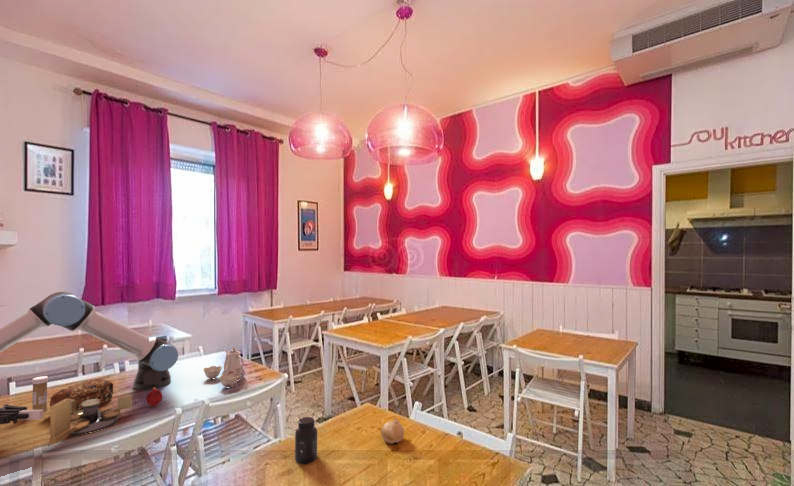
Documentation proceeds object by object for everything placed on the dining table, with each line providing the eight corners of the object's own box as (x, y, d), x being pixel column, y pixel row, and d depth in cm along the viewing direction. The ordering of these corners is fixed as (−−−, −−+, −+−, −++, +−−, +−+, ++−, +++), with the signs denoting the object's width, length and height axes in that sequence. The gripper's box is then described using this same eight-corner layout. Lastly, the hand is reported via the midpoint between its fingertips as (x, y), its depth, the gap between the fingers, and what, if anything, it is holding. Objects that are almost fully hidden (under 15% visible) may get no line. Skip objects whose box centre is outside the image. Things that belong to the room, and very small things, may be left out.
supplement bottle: (290, 461, 118) (290, 422, 118) (304, 450, 124) (304, 413, 124) (308, 466, 115) (308, 427, 115) (321, 455, 121) (321, 417, 121)
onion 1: (165, 405, 158) (165, 386, 158) (151, 410, 153) (151, 391, 153) (156, 403, 161) (156, 384, 161) (142, 408, 156) (143, 388, 156)
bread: (69, 418, 146) (70, 392, 146) (47, 416, 148) (48, 390, 148) (114, 399, 164) (115, 376, 165) (94, 397, 167) (94, 374, 167)
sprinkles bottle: (46, 411, 152) (46, 378, 152) (30, 414, 149) (30, 380, 149) (48, 407, 155) (48, 374, 155) (33, 410, 153) (33, 377, 153)
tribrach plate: (132, 407, 156) (133, 387, 156) (130, 425, 141) (130, 402, 141) (63, 420, 144) (63, 398, 144) (51, 441, 129) (52, 416, 129)
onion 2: (401, 448, 126) (402, 426, 126) (378, 445, 127) (378, 424, 128) (405, 436, 134) (405, 416, 134) (383, 434, 135) (383, 414, 135)
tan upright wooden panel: (75, 423, 138) (76, 390, 138) (93, 422, 139) (93, 389, 139) (42, 444, 124) (43, 406, 124) (62, 443, 124) (62, 406, 124)
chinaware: (197, 383, 189) (194, 350, 188) (228, 370, 203) (225, 340, 201) (228, 396, 173) (225, 360, 172) (260, 381, 186) (257, 349, 185)
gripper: (-16, 419, 133) (56, 416, 135) (-57, 437, 120) (24, 434, 122) (-15, 397, 133) (57, 395, 135) (-57, 413, 120) (24, 411, 122)
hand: (41, 414), depth 128 cm, fingers closed
